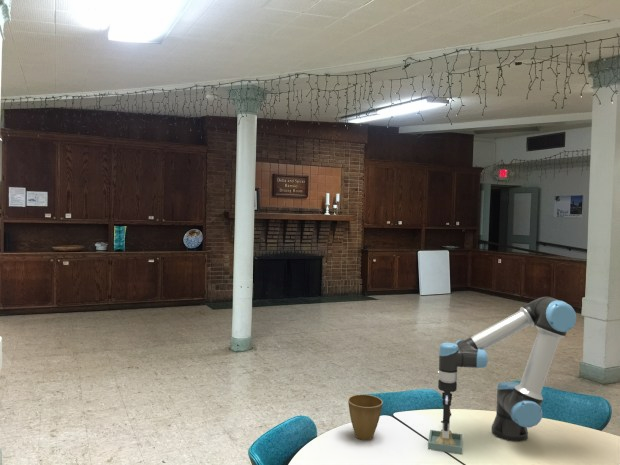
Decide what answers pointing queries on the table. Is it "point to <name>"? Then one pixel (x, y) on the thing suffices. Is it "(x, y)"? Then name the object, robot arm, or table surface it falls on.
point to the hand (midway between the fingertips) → (445, 434)
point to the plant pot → (364, 414)
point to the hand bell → (446, 440)
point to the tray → (444, 447)
